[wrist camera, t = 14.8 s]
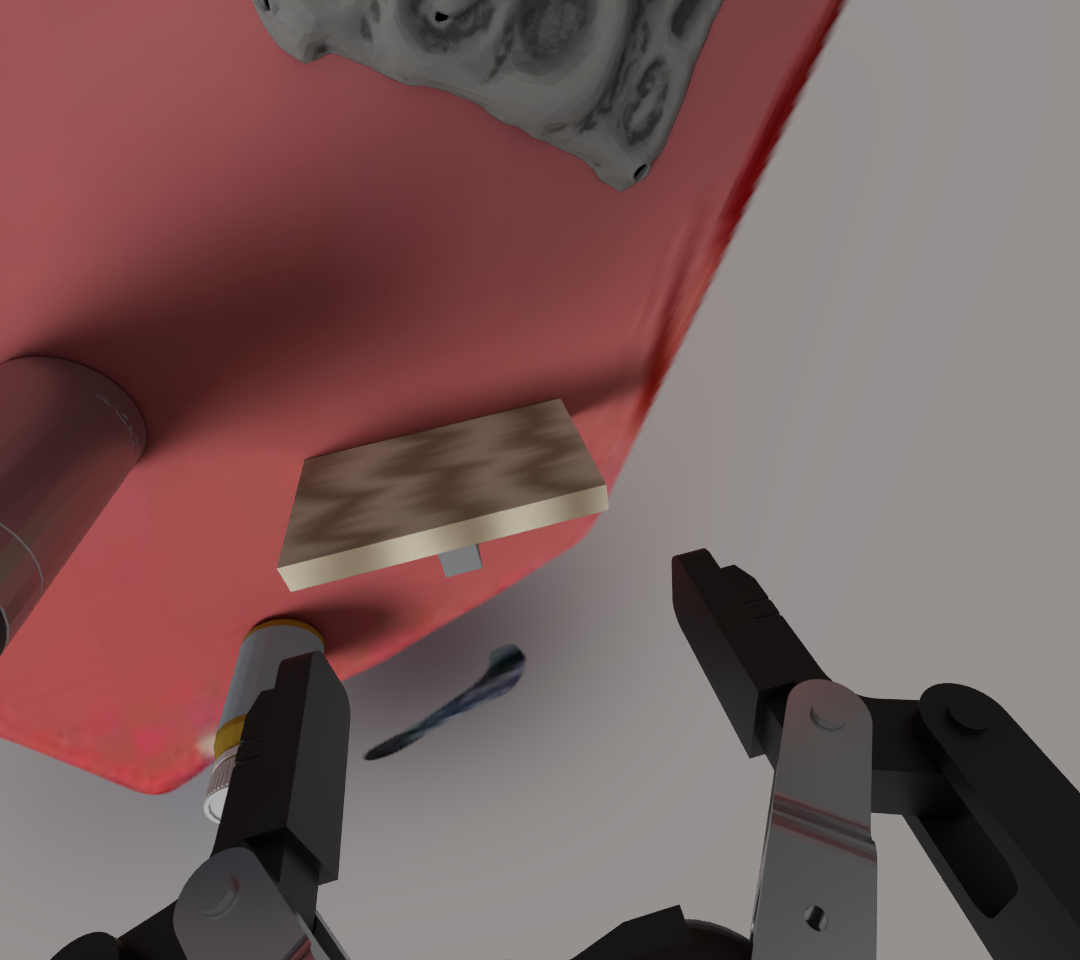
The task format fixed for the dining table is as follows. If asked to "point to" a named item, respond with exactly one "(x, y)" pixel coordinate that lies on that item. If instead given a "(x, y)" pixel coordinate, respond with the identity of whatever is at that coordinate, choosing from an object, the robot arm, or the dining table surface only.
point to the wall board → (438, 493)
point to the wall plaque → (526, 62)
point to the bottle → (253, 693)
